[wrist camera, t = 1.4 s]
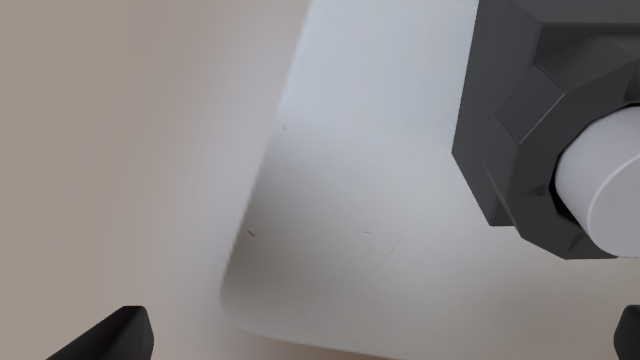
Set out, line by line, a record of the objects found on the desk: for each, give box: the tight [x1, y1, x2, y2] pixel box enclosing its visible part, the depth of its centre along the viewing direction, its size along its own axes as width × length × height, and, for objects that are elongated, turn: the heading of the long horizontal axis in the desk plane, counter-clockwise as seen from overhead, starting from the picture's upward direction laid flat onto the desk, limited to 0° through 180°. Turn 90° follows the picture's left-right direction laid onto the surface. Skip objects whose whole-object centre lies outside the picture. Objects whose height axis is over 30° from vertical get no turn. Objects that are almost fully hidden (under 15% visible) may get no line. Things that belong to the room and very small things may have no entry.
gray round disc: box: [555, 106, 640, 258], centre depth 14 cm, size 4×4×2 cm
